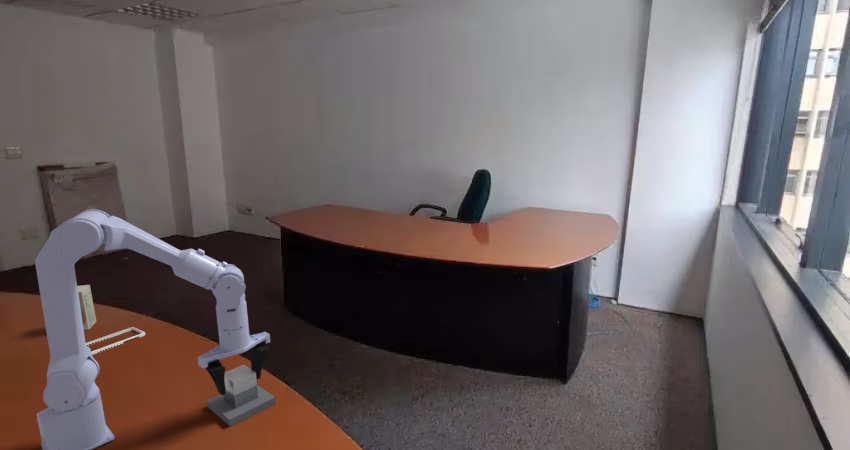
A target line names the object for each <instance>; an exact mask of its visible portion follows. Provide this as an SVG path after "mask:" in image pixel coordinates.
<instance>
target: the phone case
mask: <svg viewBox="0 0 850 450" xmlns="http://www.w3.org/2000/svg"><path fill="white" fill-rule="evenodd" d="M130 331H134V332H136V333H138V334H136V335H134V336H130V337H128V338H125V339H123V340H119V341H116V342H114V343H111V344H109V345H105V346H103V347H100V348H97V349H95V350H91V354H92V356H93V355H96V354H99V353H101V352H100V351H102V352H103V350H104V351H106V350H105V349H107V350H109V349H108V348H110V349H112V348H114V346H115V347H117V345H118V346H119V345H120V344H121V345H123V344H124V342H126V341H129V340H132V339H135V338H142V337H145V336H146V332H145V331H143V330H141V329H139V328H136V327H134V326H131V327H128V328H126V329H122V330H119V331H116V332H113V333H111V334H107V335H105V336H102V337H99V338H96V339H94V340H90V341H88V342H85V343H86V345H88V346H90V345H89V344H91V345H93V344H92V343H94V344H96V343H95V342H97V343H99V342H102V341H105V340H107V338H108V339H111V338H113V337H114V338H115V337H116V336H119V335H122V334H125V333H127V332H128V333H129V332H130ZM104 339H105V340H104ZM101 340H102V341H101ZM98 341H99V342H98ZM111 347H112V348H111ZM98 352H99V353H98Z"/></svg>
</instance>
